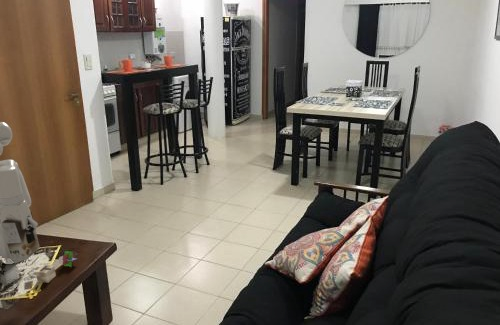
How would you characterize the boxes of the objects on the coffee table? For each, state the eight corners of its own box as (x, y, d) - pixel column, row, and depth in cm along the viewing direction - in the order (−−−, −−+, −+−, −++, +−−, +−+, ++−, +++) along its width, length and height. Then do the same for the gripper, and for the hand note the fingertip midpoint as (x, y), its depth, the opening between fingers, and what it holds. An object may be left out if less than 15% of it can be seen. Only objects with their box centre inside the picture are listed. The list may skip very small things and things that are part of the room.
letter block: (37, 281, 166) (35, 271, 165) (45, 274, 171) (43, 264, 169) (49, 283, 165) (46, 272, 164) (57, 275, 170) (54, 265, 168)
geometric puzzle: (69, 253, 182) (60, 246, 175) (82, 255, 180) (73, 248, 174) (63, 268, 178) (52, 262, 172) (76, 270, 177) (66, 264, 170)
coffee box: (27, 260, 150) (18, 222, 144) (10, 260, 150) (0, 222, 145) (40, 246, 159) (31, 211, 153) (24, 246, 159) (15, 211, 153)
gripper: (-17, 201, 144) (-5, 243, 151) (25, 205, 141) (36, 248, 147) (-1, 192, 151) (10, 233, 158) (40, 196, 148) (49, 237, 154)
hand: (22, 240), depth 152 cm, fingers closed on coffee box, 7 cm apart
